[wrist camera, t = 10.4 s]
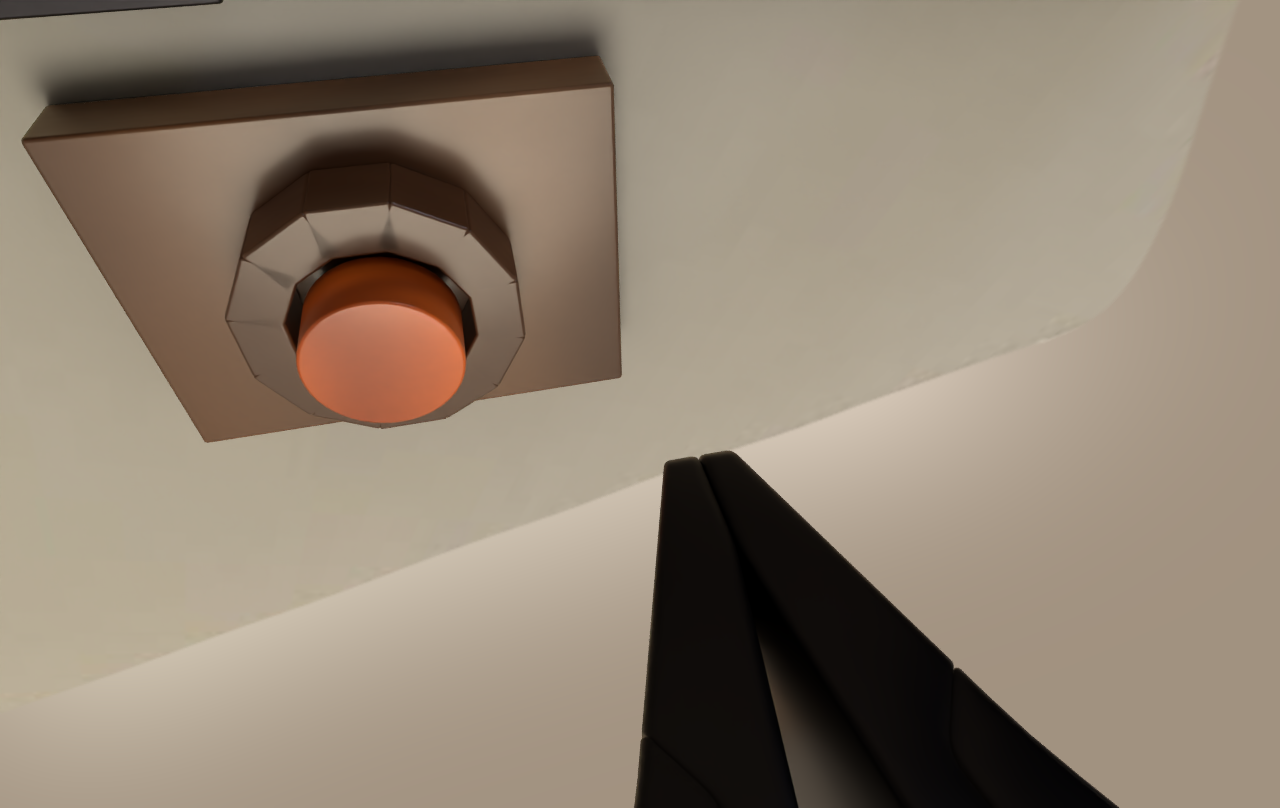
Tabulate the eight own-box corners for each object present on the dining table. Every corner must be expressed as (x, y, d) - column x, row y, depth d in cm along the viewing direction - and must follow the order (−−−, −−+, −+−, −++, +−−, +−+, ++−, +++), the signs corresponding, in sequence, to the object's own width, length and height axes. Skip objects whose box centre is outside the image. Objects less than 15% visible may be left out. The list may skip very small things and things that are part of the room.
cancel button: (447, 245, 17) (451, 291, 16) (472, 363, 20) (477, 410, 18) (280, 266, 17) (270, 315, 15) (328, 385, 19) (324, 435, 18)
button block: (599, 54, 18) (631, 118, 16) (611, 343, 24) (635, 420, 22) (44, 104, 16) (-17, 185, 14) (214, 402, 23) (193, 493, 20)
